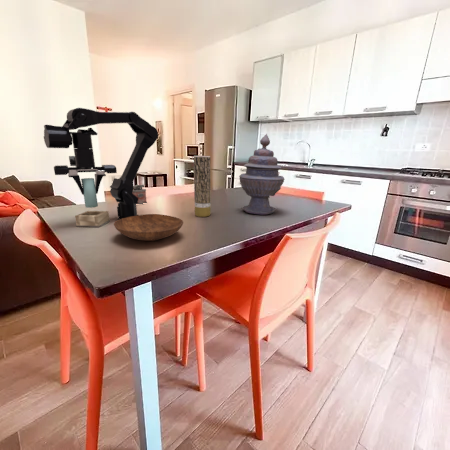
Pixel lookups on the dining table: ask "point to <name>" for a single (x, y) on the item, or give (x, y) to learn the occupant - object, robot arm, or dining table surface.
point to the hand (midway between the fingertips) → (89, 194)
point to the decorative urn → (261, 179)
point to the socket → (92, 219)
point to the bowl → (148, 226)
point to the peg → (89, 192)
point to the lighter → (140, 194)
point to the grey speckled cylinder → (202, 186)
